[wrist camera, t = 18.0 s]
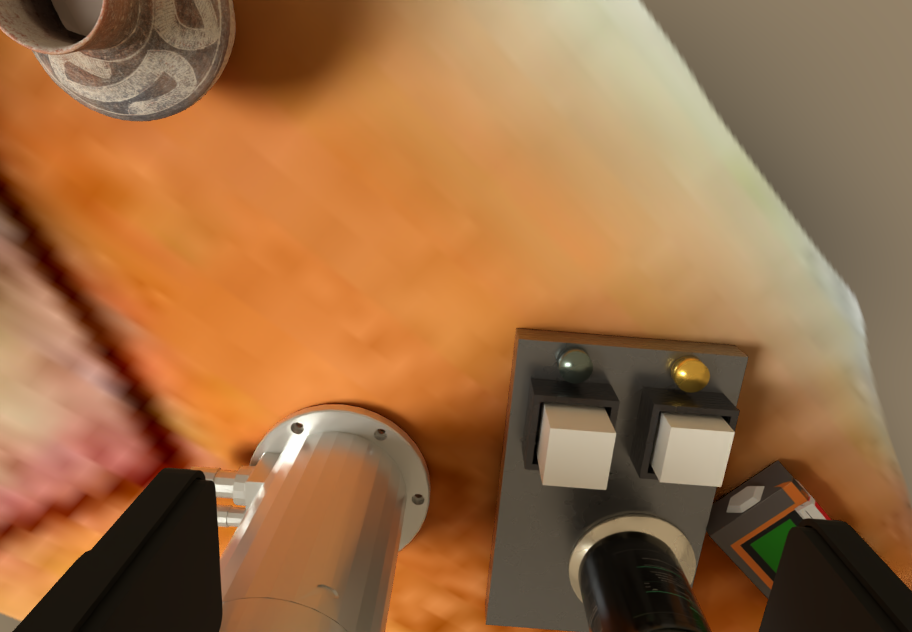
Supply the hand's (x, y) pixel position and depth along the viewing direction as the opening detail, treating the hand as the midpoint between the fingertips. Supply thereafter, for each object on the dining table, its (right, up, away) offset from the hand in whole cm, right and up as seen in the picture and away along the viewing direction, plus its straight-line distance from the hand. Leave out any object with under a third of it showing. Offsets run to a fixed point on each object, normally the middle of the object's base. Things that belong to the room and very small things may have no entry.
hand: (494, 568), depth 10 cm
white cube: (+13, -3, +28) cm, 31 cm away
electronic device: (+23, -13, +34) cm, 43 cm away
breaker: (+6, -3, +27) cm, 28 cm away
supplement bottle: (+11, -13, +32) cm, 36 cm away
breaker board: (+9, -8, +32) cm, 34 cm away
